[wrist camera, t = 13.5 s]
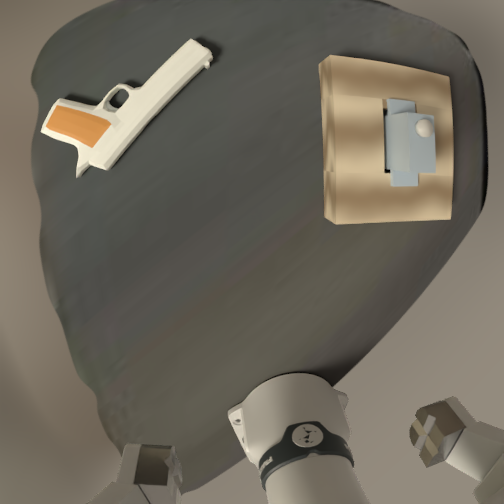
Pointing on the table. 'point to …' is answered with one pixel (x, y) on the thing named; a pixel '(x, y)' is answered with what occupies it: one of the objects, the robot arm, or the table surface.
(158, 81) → the pistol
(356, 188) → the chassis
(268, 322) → the table surface
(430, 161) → the block
